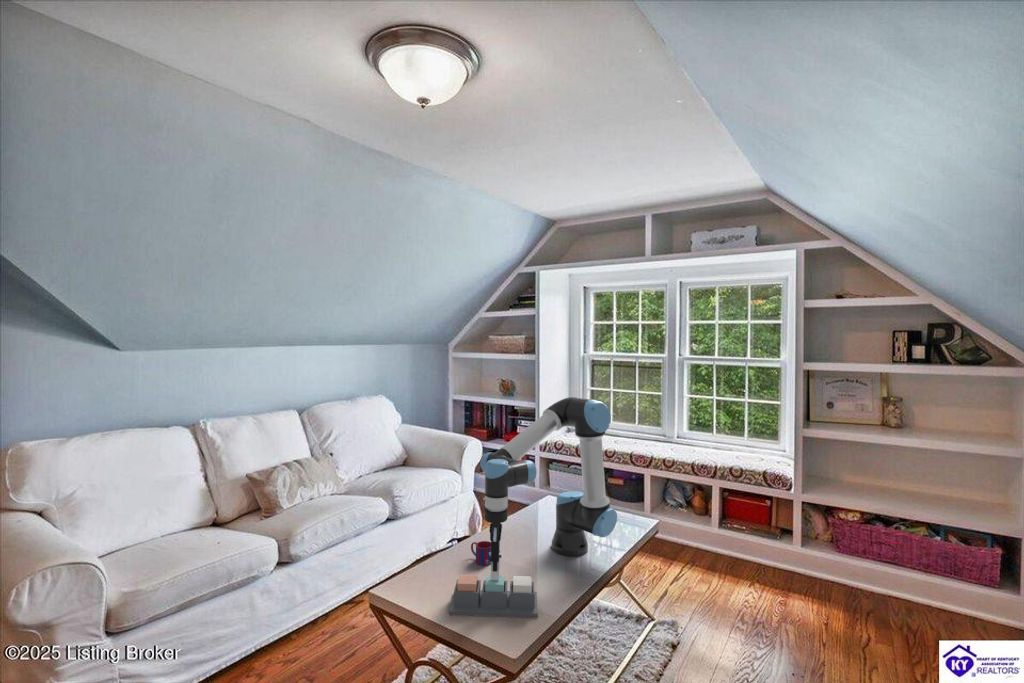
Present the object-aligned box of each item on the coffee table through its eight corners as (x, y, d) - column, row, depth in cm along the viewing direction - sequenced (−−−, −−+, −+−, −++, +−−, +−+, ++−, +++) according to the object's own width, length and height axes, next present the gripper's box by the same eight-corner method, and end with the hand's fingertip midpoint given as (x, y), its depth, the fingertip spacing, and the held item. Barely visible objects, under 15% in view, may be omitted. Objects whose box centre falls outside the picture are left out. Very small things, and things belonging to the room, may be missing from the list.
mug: (483, 567, 183) (484, 549, 183) (466, 559, 190) (466, 541, 190) (496, 561, 188) (496, 544, 188) (479, 553, 195) (479, 537, 195)
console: (536, 595, 164) (536, 577, 164) (537, 617, 151) (538, 598, 151) (454, 593, 165) (455, 575, 165) (449, 615, 152) (449, 596, 152)
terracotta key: (477, 590, 161) (477, 574, 161) (475, 600, 155) (475, 584, 155) (459, 589, 161) (459, 574, 161) (457, 599, 155) (457, 583, 155)
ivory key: (531, 591, 161) (531, 576, 161) (531, 601, 155) (531, 585, 155) (513, 591, 161) (513, 575, 161) (512, 601, 155) (513, 585, 155)
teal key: (504, 591, 161) (504, 575, 161) (503, 600, 155) (503, 584, 155) (486, 590, 161) (486, 575, 161) (484, 600, 155) (485, 584, 155)
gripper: (486, 500, 164) (485, 569, 164) (483, 514, 151) (481, 589, 151) (508, 501, 164) (507, 569, 164) (506, 515, 151) (505, 589, 151)
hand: (495, 579), depth 158 cm, fingers closed
